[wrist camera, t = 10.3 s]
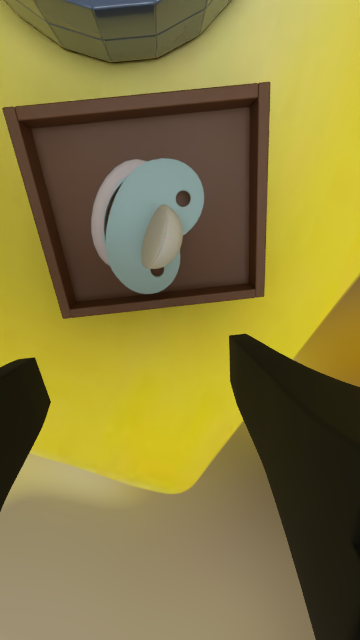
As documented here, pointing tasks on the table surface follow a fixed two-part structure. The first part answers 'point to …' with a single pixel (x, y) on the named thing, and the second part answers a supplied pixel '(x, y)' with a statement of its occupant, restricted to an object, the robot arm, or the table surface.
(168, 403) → the table surface
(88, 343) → the table surface
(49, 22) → the bowl
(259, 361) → the robot arm
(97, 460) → the table surface
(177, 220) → the pacifier
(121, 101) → the tray
